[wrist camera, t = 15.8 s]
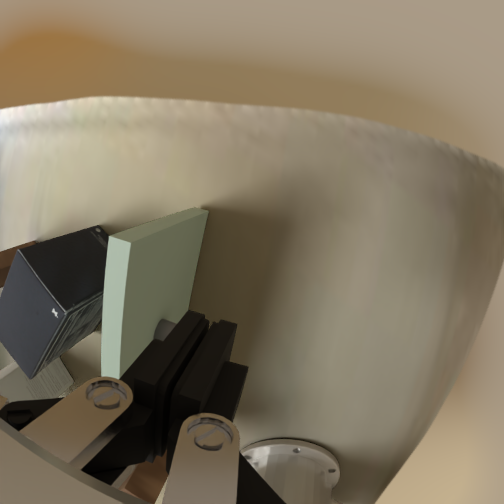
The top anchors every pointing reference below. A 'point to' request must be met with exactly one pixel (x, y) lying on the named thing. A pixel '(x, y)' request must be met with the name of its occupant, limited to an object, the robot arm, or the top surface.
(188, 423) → the robot arm
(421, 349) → the top surface
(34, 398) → the skincare box
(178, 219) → the door
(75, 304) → the small box
